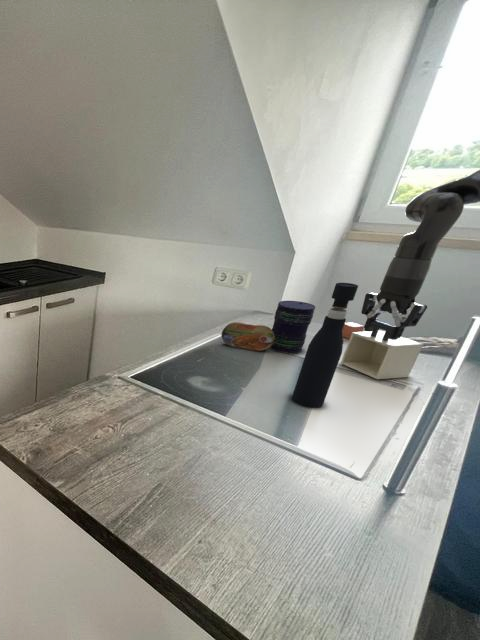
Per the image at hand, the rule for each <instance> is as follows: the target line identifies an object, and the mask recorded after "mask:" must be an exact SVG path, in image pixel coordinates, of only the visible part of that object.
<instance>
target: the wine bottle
mask: <svg viewBox="0 0 480 640" xmlns="http://www.w3.org/2000/svg"><path fill="white" fill-rule="evenodd" d="M358 288H359V285H358V284H355V283H350V282H336V283H335V285H334V287H333V290H332V291H333V292H332V294H331V299H334V301H333V303H332V304H331V308H329V309H328V312H327V315H325V316H324V320H323V322H322V325H321V327H320V329H318V331H317V332H316V333H315V335H313V337H312V339H311V340H310V342H309V344H308V346H307V350H306V352H305V355H304V358H303V362H302V365H301V369H300V371H299V374H298V377H297V380H296V383H295V387H294V389H293V393H292V395H291V400H292V401H293V402H294V403H296V404H298V405H300V406H304V407H307V408H313V409H316V408H321V407H323V405H324V403H325V402H326V401H325V400H326V398H327V395H328V392H329V390H330V386H331V384H332V381H333V378H334V376H335V373H336V370H337V367H338V365H339V362H340V359H341V357H342V354H343V348H344V337H343V334H342V330H343V327H344V324H345V323H346V321H347V318H346V317H347V314H348V310H347V308H348V304H349V302H351V301H354V300H355V297H356V294H357V291H358Z"/></svg>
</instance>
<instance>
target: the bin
mask: <svg viewBox="0 0 480 640" xmlns="http://www.w3.org/2000/svg"><path fill="white" fill-rule="evenodd" d="M370 326H372V327H374V328H373V331H370V332H367V331H362V332H352V335H351V337H350V339H348V343H347V345H346V348H345V350H344V353H343V356H342V358H341V360H340V364H341V365H343V366H346V367H348V368H350V369H353V370H355V371H357V372H360V373H362V374H364V375H367V376H369V377H371V378H372V379H375V380H387V379H398V378H399V379H400V378H401V379H402V378H409V377H410V374H411V372H412V369H413V367H414V365H415V363H416V361H417V359H418V357H419V355H420V353H421V350H422V348H423V347H424V343H422V342H419V341H416V340H413V339H410V338H407V337H403V336H401V337H400V338H398V339H397V340H391V339H389V336H390V334H391V331H392V329H393V327H394V326H395V325H392V324H389V323H385V322H382V321H379V320H377V321H376V320H373V321H372V322H371V323H370Z"/></svg>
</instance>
